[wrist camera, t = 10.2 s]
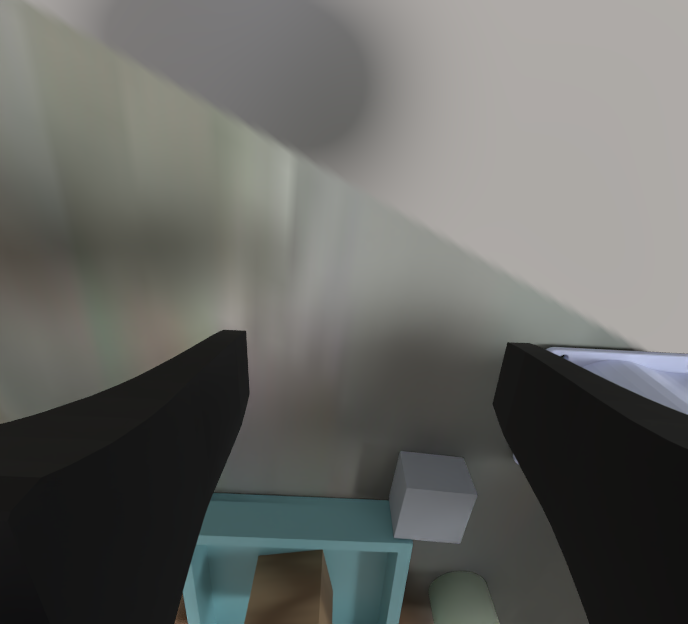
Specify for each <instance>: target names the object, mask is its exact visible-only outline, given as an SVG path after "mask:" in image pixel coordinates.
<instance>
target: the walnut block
mask: <svg viewBox="0 0 688 624" xmlns="http://www.w3.org/2000/svg"><path fill="white" fill-rule="evenodd" d="M332 612H333V589H332V585H331V581H330V577H329V573H328V569H327V565H326V560H325V556H324V552H323V550H322V549H321V550H311V551H301V552H291V553H280V554H270V555H260V556H258V560H257V565H256V570H255V574H254V579H253V584H252V589H251V593H250V598H249V603H248V608H247V612H246V617H245V622H244V624H332Z"/></svg>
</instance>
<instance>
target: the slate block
mask: <svg viewBox="0 0 688 624" xmlns="http://www.w3.org/2000/svg"><path fill="white" fill-rule="evenodd" d="M477 495H478V494H477V492H476V489H475V487H474V484H473V481H472V479H471V476H470V474H469V471H468V468H467V466H466V463H465V460H464V458H463V457H454V456H445V455H435V454H425V453H416V452H406V451H400V453H399V457H398V462H397V466H396V470H395V474H394V478H393V482H392V487H391V491H390V495H389V504H390V512H391V519H392V527H393V535H394V538H400V539H411V540H422V541H433V542H444V543H455V544H460V543H461V540H462V537H463V534H464V532H465V529H466V526H467V523H468V520H469V518H470V515H471V512H472V509H473V507H474V504H475V501H476V498H477Z"/></svg>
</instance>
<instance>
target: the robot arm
mask: <svg viewBox="0 0 688 624" xmlns="http://www.w3.org/2000/svg"><path fill="white" fill-rule="evenodd" d="M561 355H565V356H564V358H562V357H560V356H561ZM248 398H249V376H248V358H247V341H246V331H236V330H222V331H220V332H218V333H216V334H214V335H212V336H210V337H209V338H207V339H205V340H203V341H202V342H200V343H198V344H196V345H195V346H193V347H191V348H190V349H188V350H186V351H184V352H183V353H181V354H179V355H177V356H176V357H174V358H172V359H170V360H168V361H166V362H164V363H162V364H160V365H159V366H157V367H155V368H153V369H151V370H149V371H147V372H145V373H143V374H141V375H139V376H137V377H135V378H133V379H131V380H128V381H126V382H124V383H122V384H119V385H117V386H114V387H112V388H110V389H107V390H105V391H102V392H100V393H97V394H95V395H92V396H90V397H87V398H84V399H81V400H78V401H75V402H72V403H69V404H66V405H63V406H60V407H57V408H54V409H51V410H48V411H45V412H42V413H39V414H36V415H32V416H29V417H25V418H22V419H18V420H15V421H11V422H7V423H3V424H0V624H174V622H175V619H176V615H177V611H178V607H179V603H180V600H181V596H182V593H183V589H184V585H185V582H186V578H187V575H188V571H189V568H190V564H191V561H192V557H193V554H194V550H195V547H196V544H197V540H198V537H199V534H200V530H201V527H202V524H203V520H204V517H205V514H206V511H207V508H208V506H209V503H210V500H211V497H212V495H213V493H214V490H215V488H216V485H217V483H218V481H219V478H220V476H221V473H222V471H223V469H224V466H225V464H226V461H227V459H228V457H229V454H230V452H231V449H232V447H233V445H234V442H235V440H236V437H237V435H238V432H239V430H240V427H241V425H242V421H243V417H244V414H245V410H246V406H247V402H248ZM493 406H494V409H495V412H496V415H497V418H498V421H499V424H500V426H501V429H502V432H503V434H504V437H505V439H506V441H507V442H508V444H509V446H510V448H511V450H512V452H513V459H514V461H515V462H516V464H518V465H520V467H521V469H522V471H523V473H524V474H525V476H526V478H527V480H528V482H529V484H530V486H531V487H532V489H533V491H534V493H535V495H536V497H537V499H538V500H539V502H540V504H541V506H542V508H543V510H544V512H545V514H546V516H547V518H548V520H549V522H550V524H551V526H552V529H553V531H554V533H555V536H556V538H557V541H558V543H559V546H560V548H561V550H562V553H563V555H564V558H565V560H566V563H567V565H568V567H569V570H570V573H571V575H572V578H573V581H574V583H575V586H576V588H577V591H578V594H579V596H580V599H581V602H582V604H583V607H584V610H585V612H586V615H587V618H588V621H589V624H688V354H682V353H663V352H662V353H661V352H644V351H624V350H604V349H585V348H565V347H550V348H548V349H543V348H541V347H538V346H536V345H533V344H530V343H509V342H507V347H506V351H505V355H504V359H503V363H502V367H501V372H500V376H499V380H498V384H497V388H496V392H495V396H494V401H493Z"/></svg>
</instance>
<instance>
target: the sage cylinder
mask: <svg viewBox="0 0 688 624" xmlns="http://www.w3.org/2000/svg"><path fill="white" fill-rule="evenodd" d="M428 593H429V599H430V604H431V610H432V615H433V621H434V624H499V621H498V618H497V615H496V611H495V608H494V605H493V602H492V599H491V596H490V593H489V590H488V587H487V584H486V582H485V580H484V579H483V578H482V577H481V576H479V575H477V574H475V573H472V572H467V571H455V572H450V573H446V574H444V575H442V576H440V577H438V578H437V579H435V580H434V581H433V582H432V583H431V585H430V587H429V591H428Z"/></svg>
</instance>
